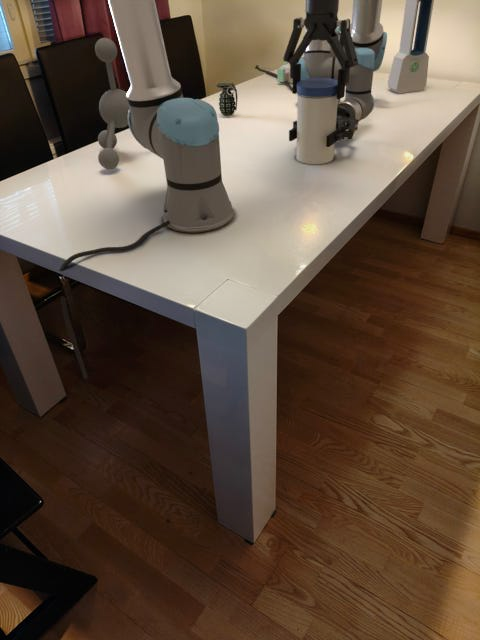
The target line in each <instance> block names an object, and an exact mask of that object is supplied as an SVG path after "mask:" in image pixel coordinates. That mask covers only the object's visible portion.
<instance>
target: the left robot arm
mask: <svg viewBox="0 0 480 640" xmlns="http://www.w3.org/2000/svg"><path fill="white" fill-rule="evenodd" d="M107 1H108V2H107V3H108V5H109V9H110V13H111V16H112V20H113V24H114V27H115V28H114V29H115V31H116V35H117V38H118V42H119V46H120V50H121V53H122V57H123V61H124V64H125V68H126V72H127V75H128V80H129V83H130V87H129V89H128V91H126V92H127V95H126V96H127V100H128V103H129V107H130V108H129V111H128V128H129V130H130V133H131V134H132V136H133V138H134V139H135V140H136V141H137V142H138V144H139V145H141V147H143V148H144V149H146V150H148V151H149V152H151V153H153V155H156V156H157V157H159V158H160V159H162V160H163V168H164V174H165V180H166V190H165V191H166V192H165V196H164V203H163V207H162V218H163V222H162V223H160V224H159V225H157V226H154V227H153V228H151V229H150V230H148V231H146V232H145V233H144V234H142V235H141V236H140V237H139V238H138V240H136V241H135V242H133V243H131V244H127V245H123V246H106V247H99V248H95V249H91V250H86V251H80V252H77V253H75V254H73V255H71V256H69V257H68V258H67V259H66V260H65V261H64V262H63V263H62V264H61V265H60V268H59V269H58V270H59V272H63V271H65V270H66V269H67V267H68V266H69V265H70V264H71V263H72V262H73V261H75V260H77V259H79V258H82V257H83V258H84V257H86V256H93V255H96V254H101V253H107V252H124V251H129V250H132V249H135V248H137V247H138V246H140V245H141V244H142V243H143V242H144V241H145V240H146V239H147V238H148V237H149V236H151V235H153V234H154V233H156V232H158V231H160V230H161V229H163V228H166V227H168V228H169V229H171V230H173V231H177V232H180V233H190V234H191V233H192V234H193V233H194V234H195V233H196V234H197V233H205V232H206V233H207V232H210V231H215V230H216V229H220V228H222V227H224V226H226V225H227V224H228V223H230V221H231V220H232V218H233V216H234V212H233V211H234V210H233V205H232V201H231V200H230V197H229V195H228V192H227V190H226V187H225V184H224V182H223V175H222V174H223V173H222V161H221V159H222V158H221V147H220V146H221V145H220V124H219V120H218V114H217V111H216V109H215V108H214V106H213V105H212V104H210V103H209V102H207V101H206V100H202V99H199V98H196V99H194V98H191V97H184V94H183V90H182V86H181V83H180V82H179V81H177V80H176V79H174V78H173V77H172V73H171V69H170V64H169V60H168V55H167V51H166V45H165V42H164V37H163V33H162V32H163V31H162V28H161V23H160V18H159V14H158V9H157V4H156V0H107ZM339 6H340V0H305V9H304V10H305V11H304V12H305V18H303V17H301V16H300V17H296V18H294V19H293V22H292V23H293V24H292V32H291V34H290V36H289V40H288V43H287V46H286V48H285V52H284V55H283V57H282V58H283V62H284V63H285V62H287V63H288V64H290V78H292V79H293V83H292V86H291V87H292V90H291V93H292V94H298V93H297V82H299V81H301V64H297V63H299V62H298V61H299V60H300V58H302V57H303V56H304V52H305V50H306V49H307V47H308V46H309V44H310V43H311V41H312V40H318V39H319V40H321V41H325V40H326V41H327V42H328V43H329V44H330V46H331V48H332V50H333V52H334V54H335V56H336V58H337V60H338V61H339V63H340V65H341V67H342V68H341V69H339V70H338V85H337V99H340V100H341V99H343V98H345V94H346V92H345V90H346V86H345V84H346V83H348V81H349V72H350V68H351V67H353V66H356V65H357V64H358V59H357V55H356V51H355V47H354V43H353V40H352V36H351V32H350V24H351V19H350V18H345V19H339V18H338V17H339V16H338V13H339ZM304 28H305V30H306V29H307V32H306V31H305V33H304V35H303V37H302V40H301V42H300V43H299V41H300V37H301V35H302V31H303V29H304ZM336 28H339V30H340V33H341V37H342V41H343V44H344V48H345V51H344V49H343V47H342V45H341V44H340V42H339V40H338V35H337V33H336V31H335V30H336ZM298 43H299V45H298ZM297 45H298V46H297ZM345 52H346V53H345ZM60 302H61V308H62V309H61V310H62V314H63V318H64V323H65V327H66V329H67V332H68V336H69V340H70V342H71V345H72V347H73V350H74V353H75V356H76V358H77V361H78V364H79V367H80V370H81V373H82V374H81V375H82V376H83V380H88V379H89V376H88V373H87V370H86V367H85V363H84V360H83V357H82V355H81V352H80V350H79V346H78V343H77V341H76V338H75V335H74V331H73V329H72V325H71V321H70V317H69V312H68V307H67V300H66V296H63V295H60Z"/></svg>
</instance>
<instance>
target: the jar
mask: <svg viewBox="0 0 480 640" xmlns="http://www.w3.org/2000/svg"><path fill="white" fill-rule="evenodd" d="M297 102H298V104H297V107H296V108H297V110H296V112H297V113H296V114H297V115H296V119H297V120H296V121H297V138H296V150H295V151H296V152H295V153H296V155H295V159H296V160H297V162H300V163H303V164H307V165H323V164H327V163H331V162H332V161H333V160H334V157H335V145H336V142H335V143H334V144H333V145H331V146H330V147H326V142H327V136H328V135H329V134H331V133H332V132H334V131H335V130H336V118H337V104H338V99H337V94H335V95H331V96H324V97H309V96H303V95H299V94H298V93H297Z"/></svg>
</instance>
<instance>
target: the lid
mask: <svg viewBox="0 0 480 640" xmlns="http://www.w3.org/2000/svg"><path fill="white" fill-rule="evenodd" d="M337 85H338V80H335V79H329V78H312V79H305V80H301V81H299V82H297V93H296V94H297V95H298V94H299V95H303V96H309V97H324V96H331V95H335V94H337Z"/></svg>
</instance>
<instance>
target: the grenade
mask: <svg viewBox="0 0 480 640" xmlns="http://www.w3.org/2000/svg"><path fill="white" fill-rule="evenodd" d="M215 87H217V88H219V89H221V93H219V97H218V101H219V102H218V106H219V108H218V109H219V112H220V114H221V115H222V116H224V117H231V116H233V115H234V113H235V112H236V111H237V108H238V89H237V87H236V85H235V84H234V83H233V82H218V83H217V84H216V86H215ZM232 91H233V92H232ZM234 94H235V96H234Z"/></svg>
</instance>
